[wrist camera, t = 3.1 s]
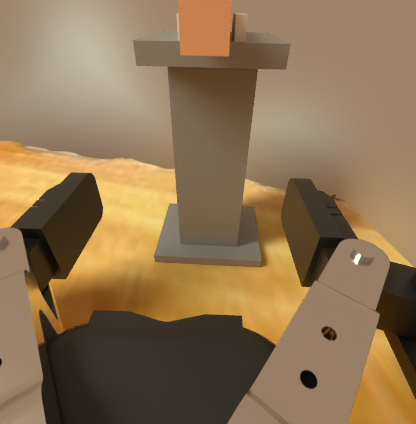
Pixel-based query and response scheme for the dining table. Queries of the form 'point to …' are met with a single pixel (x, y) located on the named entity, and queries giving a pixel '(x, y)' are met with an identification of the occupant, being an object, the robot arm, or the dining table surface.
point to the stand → (211, 143)
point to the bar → (204, 27)
